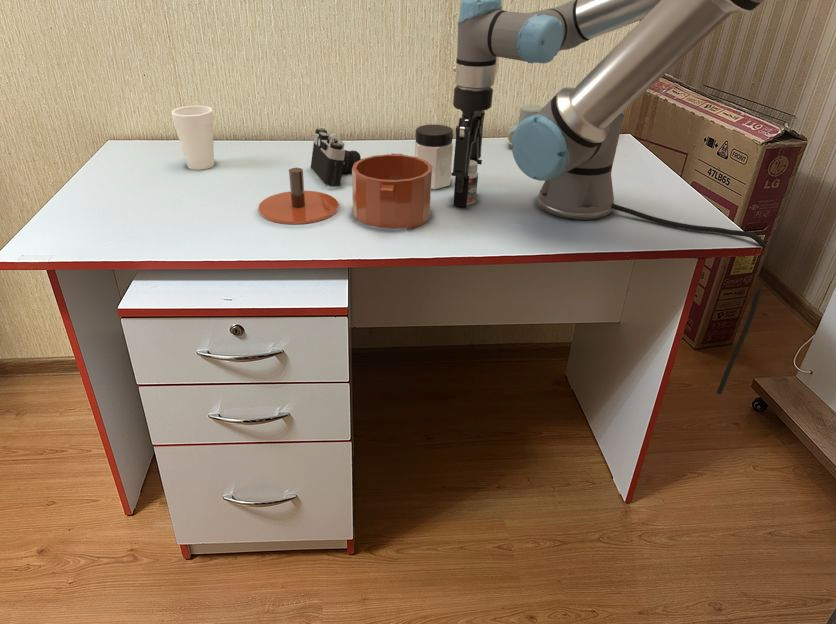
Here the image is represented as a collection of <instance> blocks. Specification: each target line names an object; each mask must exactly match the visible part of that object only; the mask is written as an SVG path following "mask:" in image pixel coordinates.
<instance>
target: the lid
mask: <svg viewBox="0 0 836 624" xmlns="http://www.w3.org/2000/svg"><path fill="white" fill-rule="evenodd" d="M288 175H289V176H288V177H289V178H288V179H289V188H290V190H289V191H283V192H279V193H275V194H273V195H270V196H268V197H266V198H264V199H263V200H262V201H260V203H259V204H258V208H257V209H258V213H259V215H260V216H261V218H263V219H265V220H267V221H270V222H273V223H277V224H282V225H283V224H284V225H306V224H313V223H318V222H321V221H324V220H326V219H329V218H331V217H332V216H334V215H335V214H336V213H337V212H338V210H339V202H338V200H337V199H336V198H335V197H334V196H332V195H330V194H327V193H325V192H321V191H314V190H305V181H304V170H303V168H301V167H292V168H289V169H288Z"/></svg>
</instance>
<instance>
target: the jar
mask: <svg viewBox="0 0 836 624" xmlns="http://www.w3.org/2000/svg"><path fill="white" fill-rule="evenodd" d="M453 139H454V129H453V128H452V127H450V126H448V125H443V124H423V125H419V126H417V128H416V129H415V139H414V157H418V158H420V159H423V160H425V161H427V162H428V163H429V164H430V165H431V166H432V180H431V190H438V189H443V188H445V187H449V186H451V180H452V176H451V173H452V167H453V166H452V164H453V151H454V150H453V149H454V144H453Z"/></svg>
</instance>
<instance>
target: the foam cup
mask: <svg viewBox="0 0 836 624" xmlns="http://www.w3.org/2000/svg"><path fill="white" fill-rule="evenodd" d="M170 113H171V117H172V123H173V125H174V129H175V131H176V134H177V137H178V141H179V143H180V146H181V149H182V153H183V156H184V160H185V163H186V165H187V168H189V169H190V170H193V171H195V170H196V171H197V170H199V171H201V170H207V169H210V168H213V167H214V166H215V162H214V161H215V148H214V146H215V145H214V121H215V118H214V111H213V108H212V107H211V106H206V105H185V106H180V107H177V108H174V109H173V110H171V112H170Z"/></svg>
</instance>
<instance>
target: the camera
mask: <svg viewBox="0 0 836 624" xmlns="http://www.w3.org/2000/svg"><path fill="white" fill-rule="evenodd" d="M361 159H362V157H361V153H360V152H358V151H357V150H346V149H345V142H344V141H342V139H341V138H340V137H339V136H338V135H337V134H336V133H335V132H332V133H328V130H327V129H326V127H324V126H318V127H317V128H316V129H315V131H314V136H313V145H312V153H311V161H310V170H311V171H312V172H313V174H314V175H315V176H316V177H317V178H318V180H319V181H320V182H321V183H322V184H323V186H325V187H327V188H335V187H340V186H341V182H342V175H343V174H345V173H351V174H352V167H353V165H354V163H356V162H357V161H359V160H361Z"/></svg>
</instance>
